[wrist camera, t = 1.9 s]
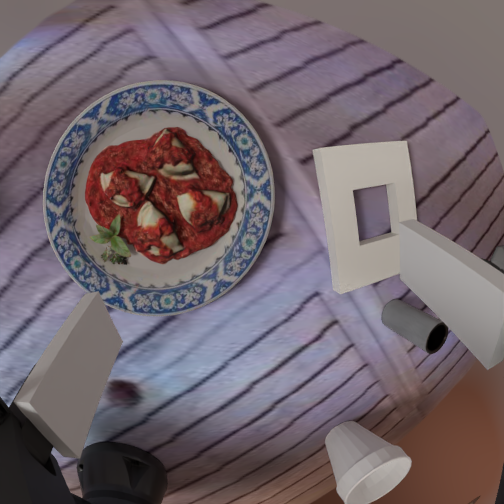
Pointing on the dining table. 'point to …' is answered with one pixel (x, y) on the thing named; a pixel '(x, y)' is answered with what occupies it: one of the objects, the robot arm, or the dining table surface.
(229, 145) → the ceramic plate
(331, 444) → the cup
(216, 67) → the dining table surface
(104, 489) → the robot arm
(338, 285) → the notched board
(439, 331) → the grey cylinder
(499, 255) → the coffee maker
